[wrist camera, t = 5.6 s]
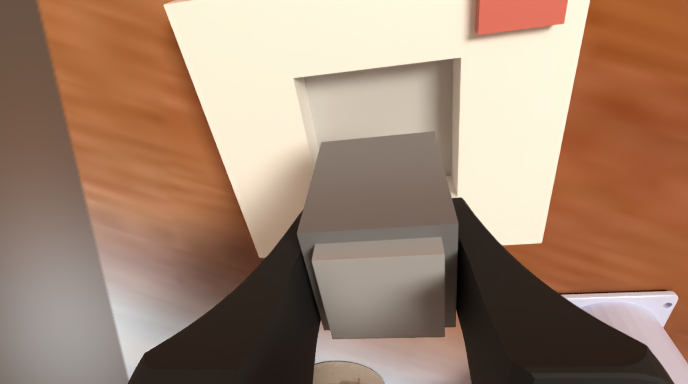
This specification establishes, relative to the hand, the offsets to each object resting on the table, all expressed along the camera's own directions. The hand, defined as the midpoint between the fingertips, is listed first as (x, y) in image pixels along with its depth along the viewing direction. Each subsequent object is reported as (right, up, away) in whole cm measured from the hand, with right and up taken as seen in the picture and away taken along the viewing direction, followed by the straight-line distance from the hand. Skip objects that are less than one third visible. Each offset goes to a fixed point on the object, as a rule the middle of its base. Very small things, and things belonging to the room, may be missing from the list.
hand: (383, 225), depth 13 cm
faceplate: (+1, +5, +7) cm, 8 cm away
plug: (0, +1, +2) cm, 2 cm away
